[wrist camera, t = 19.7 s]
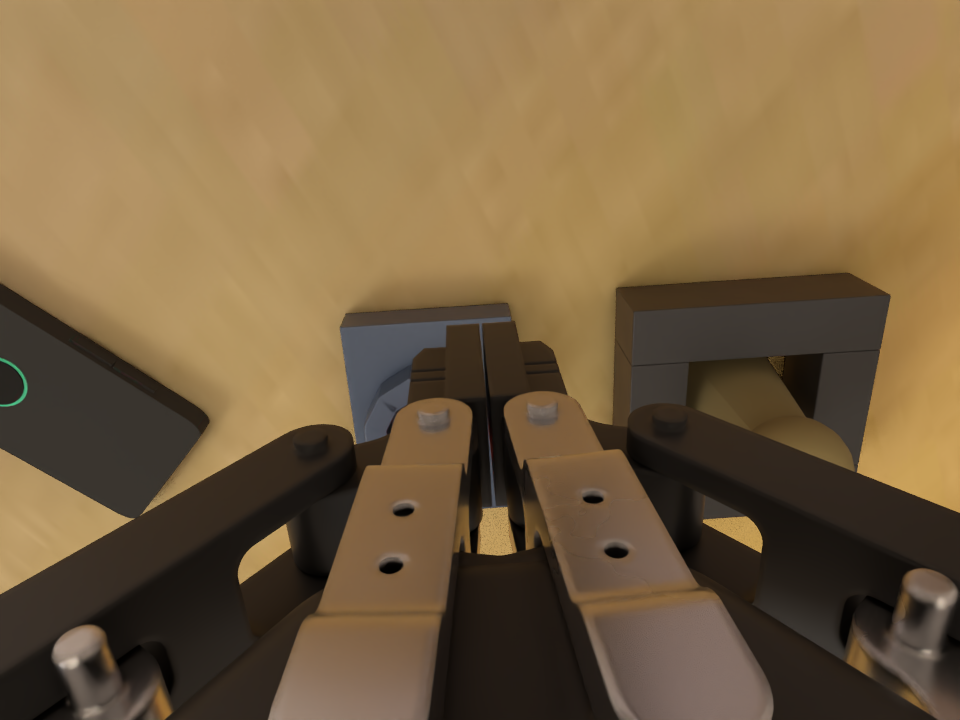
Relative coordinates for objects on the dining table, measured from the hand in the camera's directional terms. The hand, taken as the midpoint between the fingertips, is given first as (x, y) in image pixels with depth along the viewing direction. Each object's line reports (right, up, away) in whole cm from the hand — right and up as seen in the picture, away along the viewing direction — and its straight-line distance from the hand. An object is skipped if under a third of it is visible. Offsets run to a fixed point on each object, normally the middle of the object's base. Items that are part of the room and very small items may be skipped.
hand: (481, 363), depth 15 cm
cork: (+14, -1, +26) cm, 29 cm away
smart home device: (-26, 0, +24) cm, 35 cm away
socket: (+14, -1, +26) cm, 29 cm away
